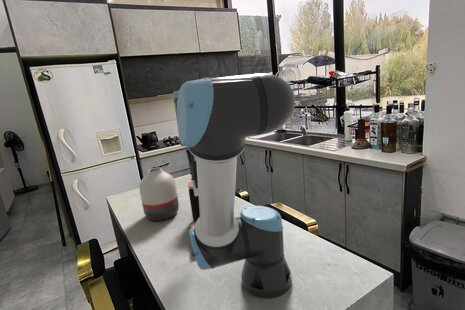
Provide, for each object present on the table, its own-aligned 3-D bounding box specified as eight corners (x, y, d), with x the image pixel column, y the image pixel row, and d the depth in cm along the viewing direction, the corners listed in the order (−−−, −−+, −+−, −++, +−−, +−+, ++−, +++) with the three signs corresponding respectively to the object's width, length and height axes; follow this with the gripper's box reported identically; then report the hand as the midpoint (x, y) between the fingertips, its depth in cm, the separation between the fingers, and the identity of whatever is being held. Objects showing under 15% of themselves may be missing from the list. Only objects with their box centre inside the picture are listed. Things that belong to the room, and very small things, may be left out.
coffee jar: (212, 225, 123) (207, 187, 119) (189, 225, 125) (184, 187, 121) (218, 214, 133) (214, 178, 129) (197, 214, 135) (192, 179, 131)
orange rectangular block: (207, 231, 112) (206, 224, 111) (193, 234, 111) (192, 227, 110) (205, 227, 115) (204, 221, 114) (191, 231, 113) (190, 224, 113)
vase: (154, 227, 127) (145, 178, 121) (139, 216, 139) (130, 171, 133) (186, 213, 137) (179, 167, 131) (169, 204, 150) (162, 162, 144)
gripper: (203, 134, 96) (211, 198, 101) (196, 130, 108) (204, 187, 113) (181, 137, 94) (191, 203, 99) (176, 133, 106) (185, 191, 111)
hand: (198, 194), depth 106 cm, fingers closed
